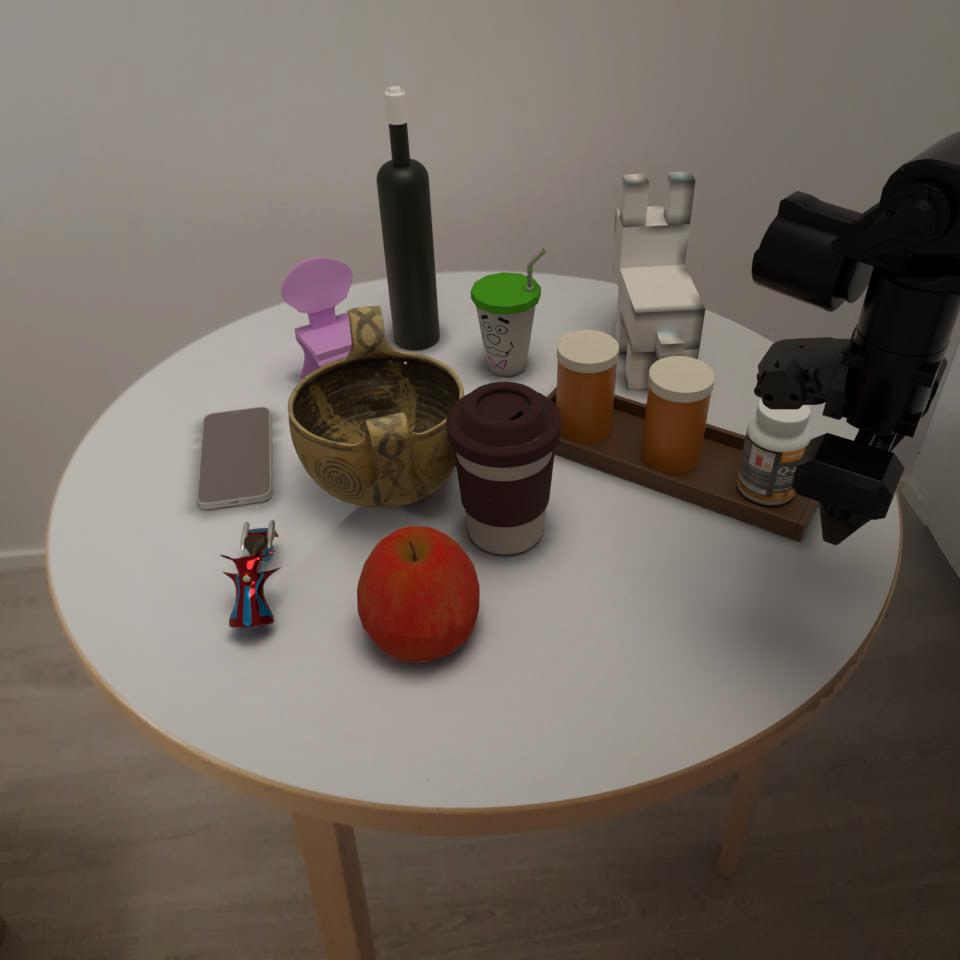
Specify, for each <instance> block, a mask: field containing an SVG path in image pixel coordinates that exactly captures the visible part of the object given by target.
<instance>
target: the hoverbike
mask: <svg viewBox="0 0 960 960" xmlns="http://www.w3.org/2000/svg"><path fill="white" fill-rule="evenodd" d="M275 538H279V534H278V532H277V530H276V521H275V519H271V520H270V521H269V523H268V527H258V528H250V522H248V521H245V522H244V523H243V526H242V531H241V536H240V543H239V545H240V546H239V548H240V551H241V552H244V551H245V550H246V551H247V553H248V555H242V556H240V557H238V558H237V557H235V558H233V557H230V556H229V555H225V554H220V555H219V557H222V558H224V559H226V560H230V561H232V562H233V564H234V565H235V568H236V571H237V573H235V572H227V571H222V573H223V574H224V575H225V576H227V577H228V578H229V579H231V581H232V582H233V584H234V587H235V600H234V605H233V608H232V610H231V613H230V615H229V619H228V626H229V627H230V628H232V629H233V628H234V629H235V628H237V629H239V628H240V629H245V628H246V629H247V628H251V629H252V628H253V629H254V628H258V627H261V626H269V625H272V624H274V623H275V616H274V614H273V611H272V609H271V608H270V606H269V604H268V602H267V600H266V596H265V587H264V586H265V583H266V582H267V580H268V579H269V577H270V576H272V575H273V574H274V573H275V572H277V571H279V570H280V569H282V566H280V567H277V568H274V569H270V570H261V569H262V568H261V567H262V563H265V562H269V561H270V560H271V559H272V558H273V556H274V554H275V552H276V551H277V550H276V549H275V547H274V545H273V542H274V540H275Z"/></svg>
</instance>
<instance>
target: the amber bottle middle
mask: <svg viewBox="0 0 960 960" xmlns="http://www.w3.org/2000/svg"><path fill="white" fill-rule="evenodd" d="M715 380H716V373H715V371H714V370H713V368H712V367H711V366H710V365H709V364H708V363H706V362H705V361H703V360H700V359H699V358H698V359H695V358H691V357H686V356H671V357H666V358H662V359H660V360H656V361H655V362H653V365H652V366H651V367H650V370H649V377H648V385H649V387H648V389H647V397H646V404H647V405H646V414H645V423H644V431H643V440H642V449H641V456H642V459H643V461H644V462H645V464H646V465H647V466H649V467H650V468H652V469H654V470H657V471H659V472H662V473H665V474H683V473H687V472H689V471H691V470H693V469H694V468H696V467H697V465H698V464H699V462H700V458H701V452H702V446H703V440H704V434H705V428H706V423H707V422H708V421H707V420H708V416H709V415H708V414H709V409H710V402H711V397H712V393H713V390H714V387H715V386H714V385H715Z"/></svg>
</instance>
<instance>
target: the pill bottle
mask: <svg viewBox="0 0 960 960" xmlns="http://www.w3.org/2000/svg"><path fill="white" fill-rule="evenodd" d="M756 407H757V408H756V410H755V416H754V417H753V418H752V419H751V420H750V422H749V423H748V425H747V428H746V432H745V436H746V437H745V442H744V447H743V452H742V457H741V462H740V467H739V471H738V478H737V485H738V488H739V490H740V492H741V493H742V494H743V495H744V496H745V497H747V498H748V499H750V500H751V501H753V502H756V503H759V504H763V505H780V504H784V503H786V502H788V501H790V500H791V499H792V498H793V497H794V495H795V494H796V493H795V491H794V490H793V489H792V487H791V485H792V481H793V478H794V474H795V470H796V466H797V464H798V462H799V461H800V459H801V457H802V455H803V453H804V451H805V450H806V448H807V446H808V444H809V442H810V440H811V430H810V428H809V426H808V423H809V421H810V418H811V407H810V405H803V406H802V407H801V408H800V409H797V410H772V409H769V408H767V407H766V406H764V405H763V403H762V398H761V397H760V399H759V400H758V404H757V406H756Z"/></svg>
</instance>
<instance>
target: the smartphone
mask: <svg viewBox="0 0 960 960" xmlns="http://www.w3.org/2000/svg"><path fill="white" fill-rule="evenodd" d="M201 427H202V428H201V439H200V451H199V462H198V463H199V465H198V477H197V489H196V490H197V491H196V500H197V503H198V506H199V507H200V508H201V509H204V510H211V509H212V510H213V509H219V508H225V507H226V508H227V507H234V506H240V505H248V504H255V503H261V502H265V501H267V500H269V499H270V498H272V495H273V437H272V436H273V434H272V432H273V431H272V429H273V427H272V413H271V410H270V409H269V408H268V407H265V406H256V407H250V408H249V407H247V408H242V409H234V410H226V411H218V412H217V411H216V412H212V413H209V414H206V415H205V416H204V417H203V419H202V426H201Z"/></svg>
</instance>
